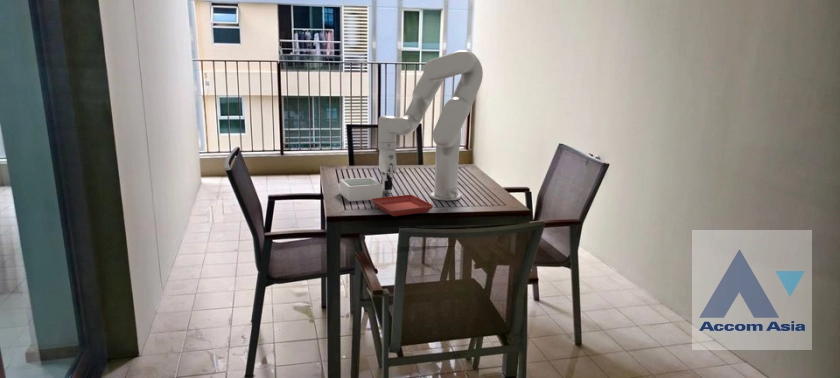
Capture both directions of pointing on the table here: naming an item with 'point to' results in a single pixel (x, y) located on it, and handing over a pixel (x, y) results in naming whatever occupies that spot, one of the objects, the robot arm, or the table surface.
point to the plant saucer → (402, 205)
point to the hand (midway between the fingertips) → (386, 188)
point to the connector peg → (384, 186)
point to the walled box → (360, 189)
